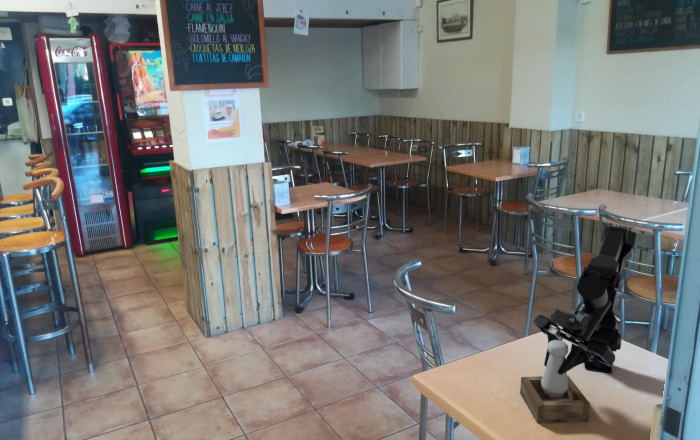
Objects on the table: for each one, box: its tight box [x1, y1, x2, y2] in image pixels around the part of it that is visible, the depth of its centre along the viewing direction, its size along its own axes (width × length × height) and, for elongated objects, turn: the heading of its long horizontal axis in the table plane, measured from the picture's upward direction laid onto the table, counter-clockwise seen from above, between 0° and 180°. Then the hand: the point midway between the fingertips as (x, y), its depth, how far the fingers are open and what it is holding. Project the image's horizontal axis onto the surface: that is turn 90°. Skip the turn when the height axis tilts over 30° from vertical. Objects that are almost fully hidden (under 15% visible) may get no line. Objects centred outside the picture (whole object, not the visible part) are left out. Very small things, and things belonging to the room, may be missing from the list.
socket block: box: [519, 375, 591, 424], centre depth 120 cm, size 11×11×4 cm
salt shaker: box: [541, 340, 569, 399], centre depth 118 cm, size 6×6×13 cm
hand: (552, 369), depth 117 cm, fingers closed on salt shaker, 3 cm apart
